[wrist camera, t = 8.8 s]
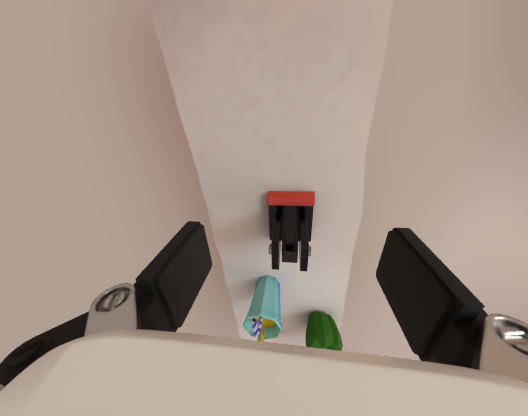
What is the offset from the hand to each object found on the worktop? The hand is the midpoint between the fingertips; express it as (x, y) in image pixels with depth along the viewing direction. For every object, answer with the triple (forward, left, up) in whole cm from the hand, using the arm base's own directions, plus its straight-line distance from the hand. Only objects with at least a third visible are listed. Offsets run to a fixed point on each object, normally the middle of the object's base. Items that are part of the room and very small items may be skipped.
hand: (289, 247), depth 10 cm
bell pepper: (+42, +8, -24) cm, 49 cm away
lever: (+7, 0, -14) cm, 16 cm away
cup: (+30, -5, -24) cm, 39 cm away
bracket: (+12, 0, -24) cm, 27 cm away
